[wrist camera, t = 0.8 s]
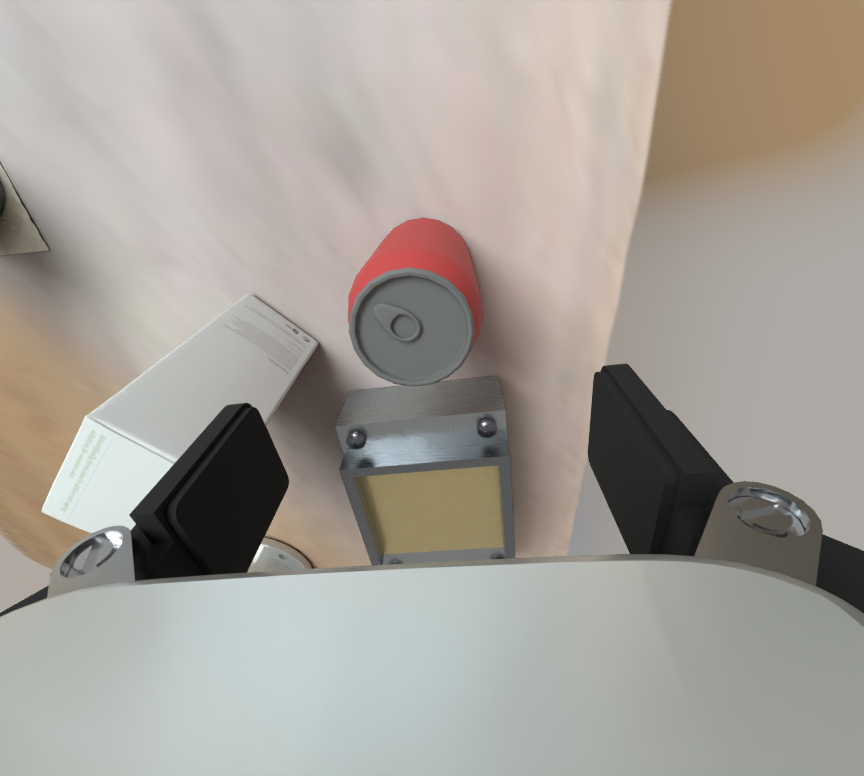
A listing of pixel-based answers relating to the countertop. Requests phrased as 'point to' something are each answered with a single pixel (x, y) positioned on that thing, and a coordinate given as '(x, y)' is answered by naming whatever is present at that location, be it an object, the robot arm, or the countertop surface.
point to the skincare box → (175, 412)
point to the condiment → (16, 223)
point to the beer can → (416, 304)
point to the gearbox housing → (429, 471)
